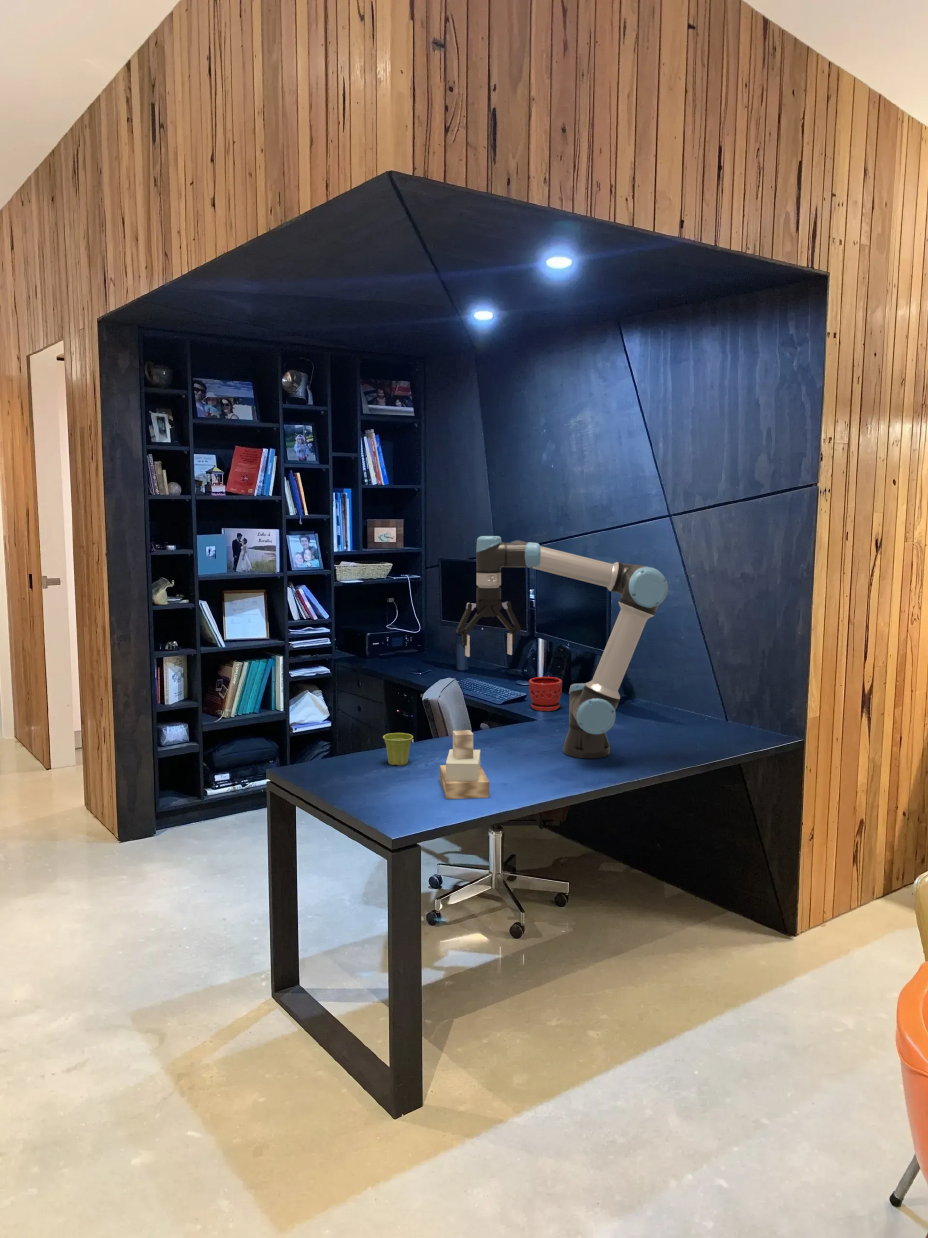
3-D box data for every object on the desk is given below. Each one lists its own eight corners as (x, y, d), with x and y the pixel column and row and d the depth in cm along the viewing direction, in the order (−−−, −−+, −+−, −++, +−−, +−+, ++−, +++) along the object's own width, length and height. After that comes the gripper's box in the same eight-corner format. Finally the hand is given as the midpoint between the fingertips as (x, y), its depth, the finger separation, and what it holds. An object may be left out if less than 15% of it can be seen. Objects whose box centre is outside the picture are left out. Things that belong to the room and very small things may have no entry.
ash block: (469, 753, 264) (469, 730, 263) (473, 758, 259) (473, 734, 258) (452, 754, 263) (452, 730, 262) (455, 759, 258) (455, 735, 257)
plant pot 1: (402, 757, 294) (402, 731, 293) (419, 764, 287) (418, 737, 286) (377, 762, 289) (377, 735, 288) (393, 769, 281) (393, 741, 280)
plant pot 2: (525, 706, 370) (525, 677, 368) (556, 705, 372) (556, 676, 370) (533, 713, 357) (533, 683, 355) (565, 712, 359) (566, 682, 358)
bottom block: (479, 780, 272) (479, 763, 271) (489, 799, 254) (489, 781, 254) (439, 781, 270) (439, 765, 270) (446, 801, 253) (446, 783, 252)
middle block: (480, 766, 269) (480, 749, 268) (478, 781, 254) (478, 764, 253) (449, 765, 269) (449, 749, 269) (445, 780, 254) (445, 763, 254)
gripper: (452, 588, 273) (452, 658, 275) (531, 586, 279) (530, 655, 281) (446, 586, 280) (446, 655, 282) (523, 584, 286) (523, 651, 289)
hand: (488, 655), depth 282 cm, fingers open, 13 cm apart
